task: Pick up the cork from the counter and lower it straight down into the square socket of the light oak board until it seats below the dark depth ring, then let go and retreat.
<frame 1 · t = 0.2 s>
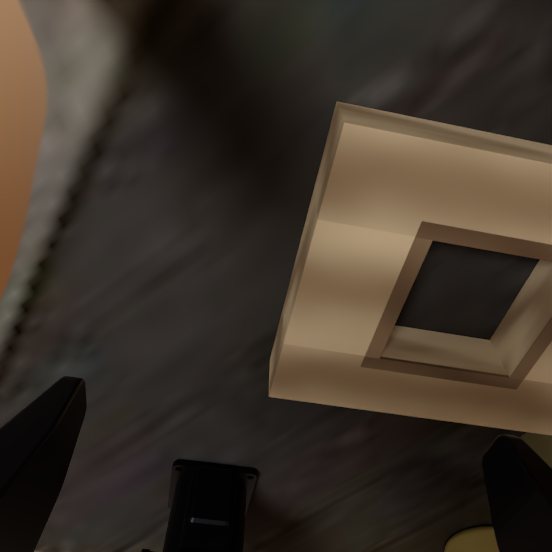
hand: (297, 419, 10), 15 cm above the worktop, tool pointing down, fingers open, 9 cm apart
socket board: (456, 280, 26), on the worktop
grey bark cylinder: (479, 538, 42), on the worktop
cork: (549, 446, 34), on the worktop
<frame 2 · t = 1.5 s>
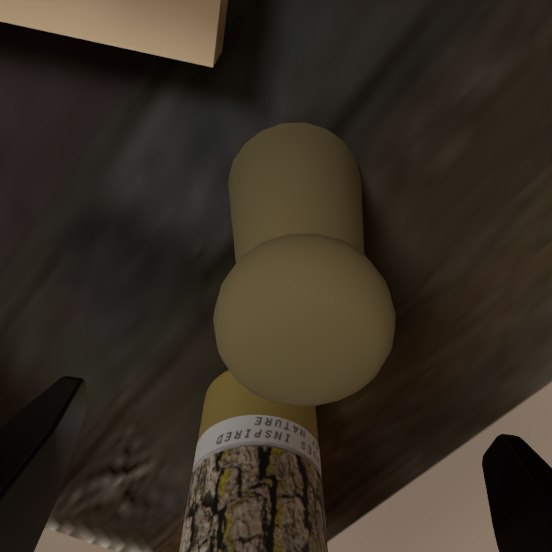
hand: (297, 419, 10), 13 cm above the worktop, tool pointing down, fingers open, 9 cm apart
grey bark cylinder: (260, 392, 29), on the worktop
cork: (294, 187, 21), on the worktop
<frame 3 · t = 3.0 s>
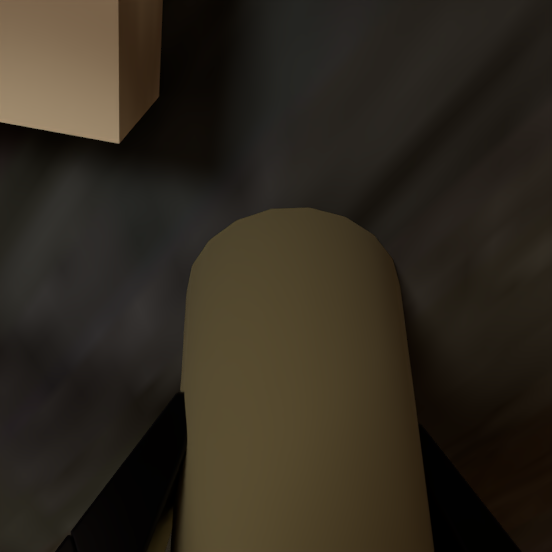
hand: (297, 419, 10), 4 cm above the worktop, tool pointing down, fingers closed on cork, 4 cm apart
cork: (292, 298, 13), on the worktop, touching gripper
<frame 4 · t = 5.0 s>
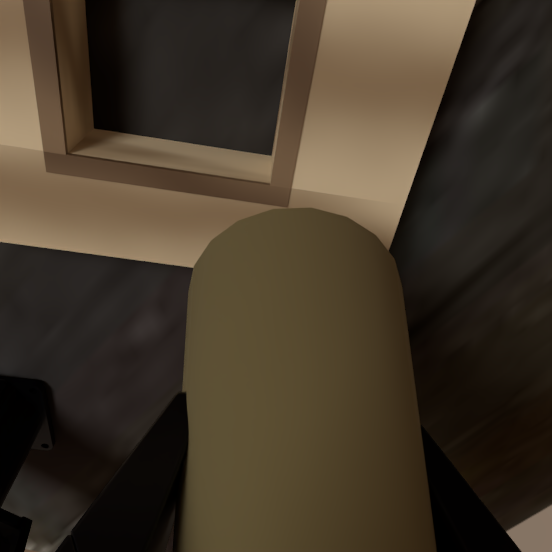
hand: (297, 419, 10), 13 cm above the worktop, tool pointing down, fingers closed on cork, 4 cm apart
socket board: (188, 46, 18), on the worktop
cork: (294, 298, 13), point 9 cm above the worktop, touching gripper
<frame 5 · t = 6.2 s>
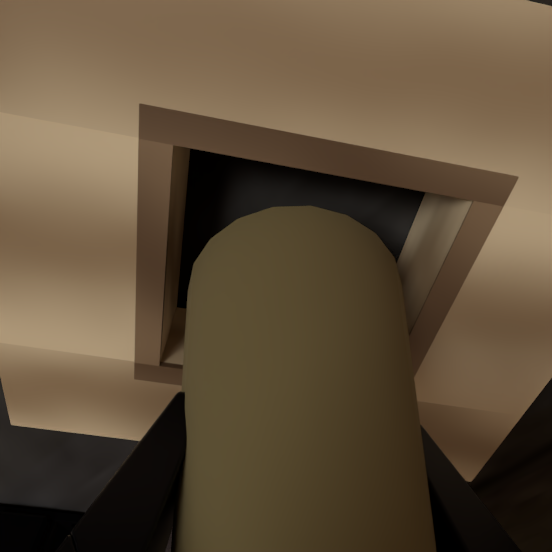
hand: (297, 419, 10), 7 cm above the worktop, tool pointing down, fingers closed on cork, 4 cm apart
socket board: (293, 240, 16), on the worktop
cork: (294, 297, 13), point 3 cm above the worktop, touching gripper
when the fingers open (5 cm above the worktop, at t = 7.0 s): cork stays where it is, resting in socket board.
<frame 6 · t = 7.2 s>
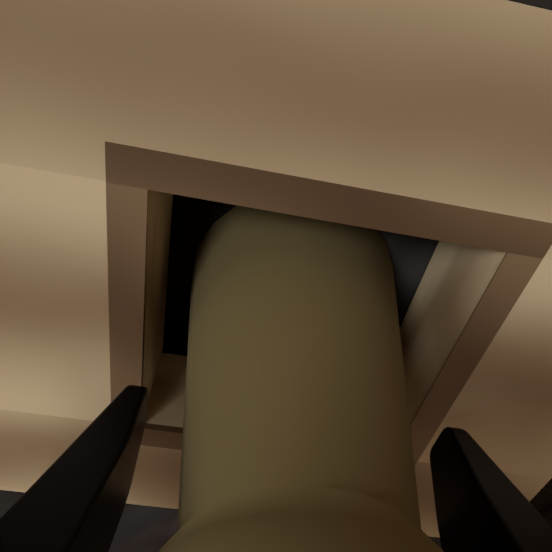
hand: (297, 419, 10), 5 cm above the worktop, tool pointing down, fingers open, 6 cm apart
socket board: (293, 282, 14), on the worktop
cork: (292, 279, 14), resting in socket board
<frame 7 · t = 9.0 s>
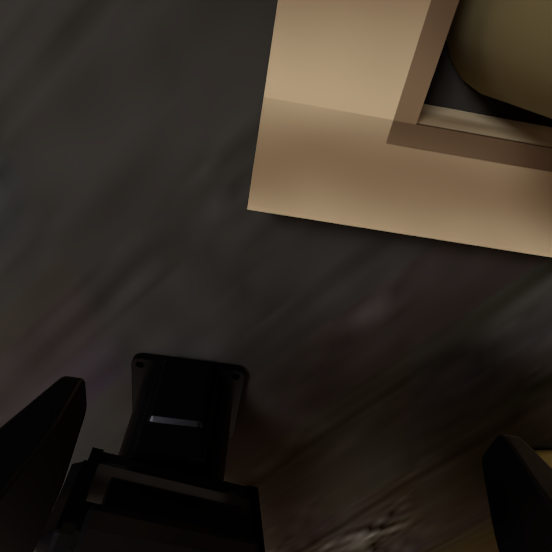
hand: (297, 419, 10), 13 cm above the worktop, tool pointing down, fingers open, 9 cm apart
socket board: (535, 9, 16), on the worktop
cork: (530, 10, 17), resting in socket board
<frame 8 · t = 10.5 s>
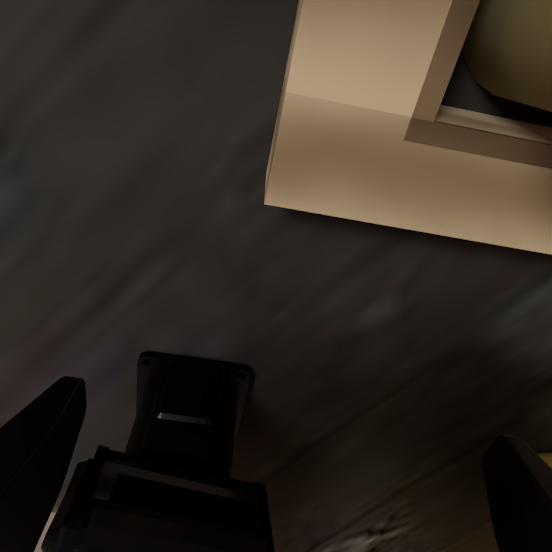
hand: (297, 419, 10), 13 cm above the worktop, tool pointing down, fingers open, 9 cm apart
socket board: (547, 14, 17), on the worktop
cork: (543, 15, 17), resting in socket board
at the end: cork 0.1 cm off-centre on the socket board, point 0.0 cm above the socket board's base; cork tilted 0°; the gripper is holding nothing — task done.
